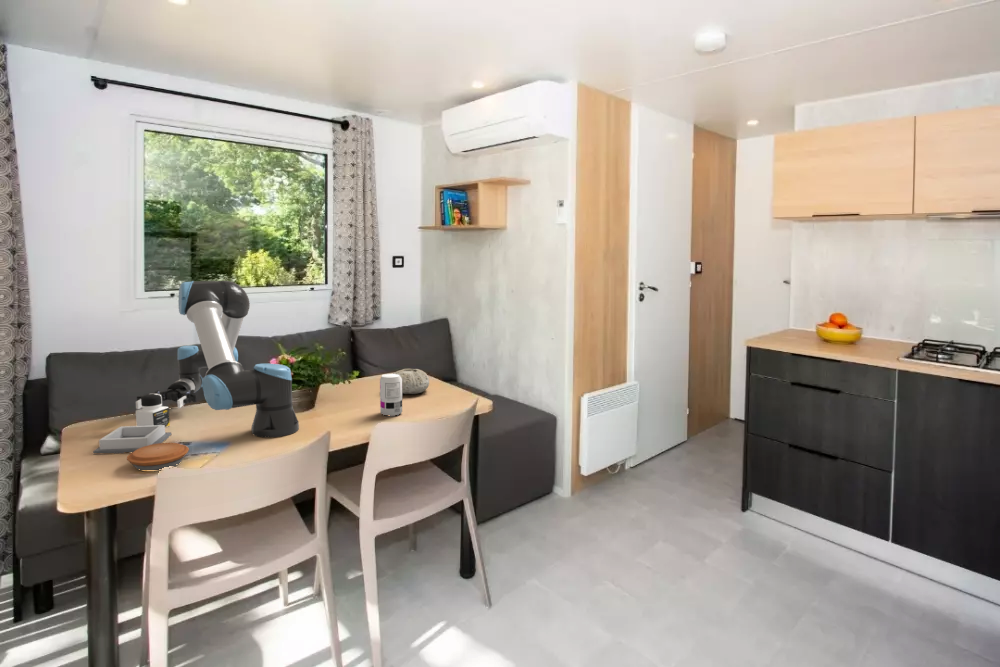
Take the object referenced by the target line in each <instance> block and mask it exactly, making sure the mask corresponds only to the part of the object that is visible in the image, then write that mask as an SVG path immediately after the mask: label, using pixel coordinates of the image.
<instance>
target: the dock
mask: <svg viewBox="0 0 1000 667" xmlns="http://www.w3.org/2000/svg"><path fill="white" fill-rule="evenodd" d="M170 435H171V436H172V432H166V428H165V425H150V426H137V425H128V426H125V425H124V426H123V425H122V426H119V427H118V428H116V429H114V430H113V431H111V432H110V433H108V434H106V435H104V436H103V437H101V438H100V439H99V440H98V443H99V447H97V448H95V449H94V450H93V451H92V454H93V453H114V454H125V453H124V452H134V451H135V450H137V449H139V448H142V447H144V446H148V445H152V444H158V443H164V442H163V441H164V440H165V441H166V440H167V439H168V438H169V436H170ZM171 436H170V437H171Z"/></svg>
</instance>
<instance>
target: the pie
mask: <svg viewBox="0 0 1000 667" xmlns="http://www.w3.org/2000/svg"><path fill="white" fill-rule="evenodd" d="M189 451H190V448H189V446H187V445H185V444H183V443H177V442H162V443H158V444H152V445H148V446H144V447H142V448H139V449H137V450H135V451H134V452H132V453H128V455H127V456H126V460H127V461H128V462H129V463H130V464H132V466H133V467H134V468H135V469H136V468H137V469H136V470H138V469H140V470H159V469H162V468H164V467H169V466H175V467H177V466H176V464H178V465H180V464H181V463H182V461H183V459H184V458H185V456H186V455H187V454H188V453H189ZM180 462H181V463H180ZM179 463H180V464H179Z"/></svg>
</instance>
